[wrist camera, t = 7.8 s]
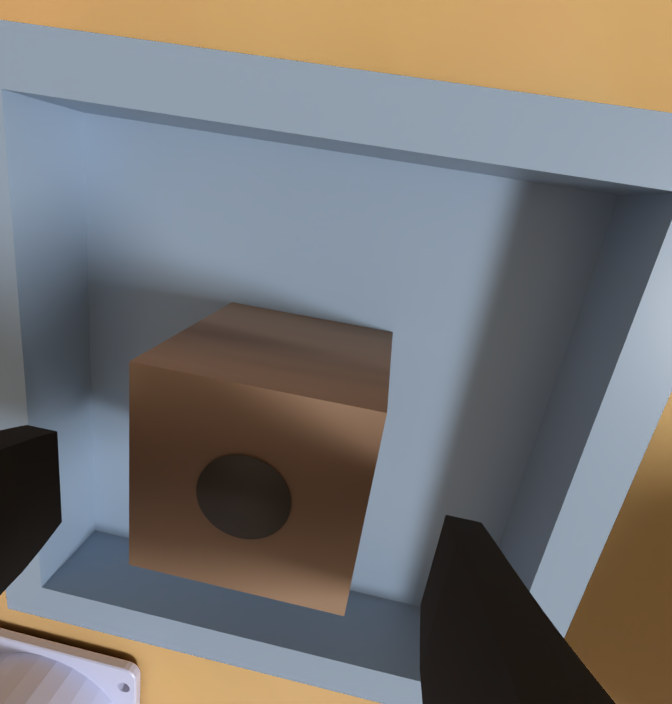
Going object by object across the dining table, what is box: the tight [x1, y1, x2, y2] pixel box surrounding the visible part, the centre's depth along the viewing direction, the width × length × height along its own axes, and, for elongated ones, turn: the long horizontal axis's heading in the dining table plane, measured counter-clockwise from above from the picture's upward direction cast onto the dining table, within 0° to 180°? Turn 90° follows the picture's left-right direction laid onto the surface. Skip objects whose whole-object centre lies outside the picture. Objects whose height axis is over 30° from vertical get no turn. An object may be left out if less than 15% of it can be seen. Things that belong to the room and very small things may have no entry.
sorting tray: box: [0, 20, 672, 704], centre depth 12 cm, size 16×16×3 cm
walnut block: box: [129, 302, 393, 616], centre depth 11 cm, size 4×4×5 cm
